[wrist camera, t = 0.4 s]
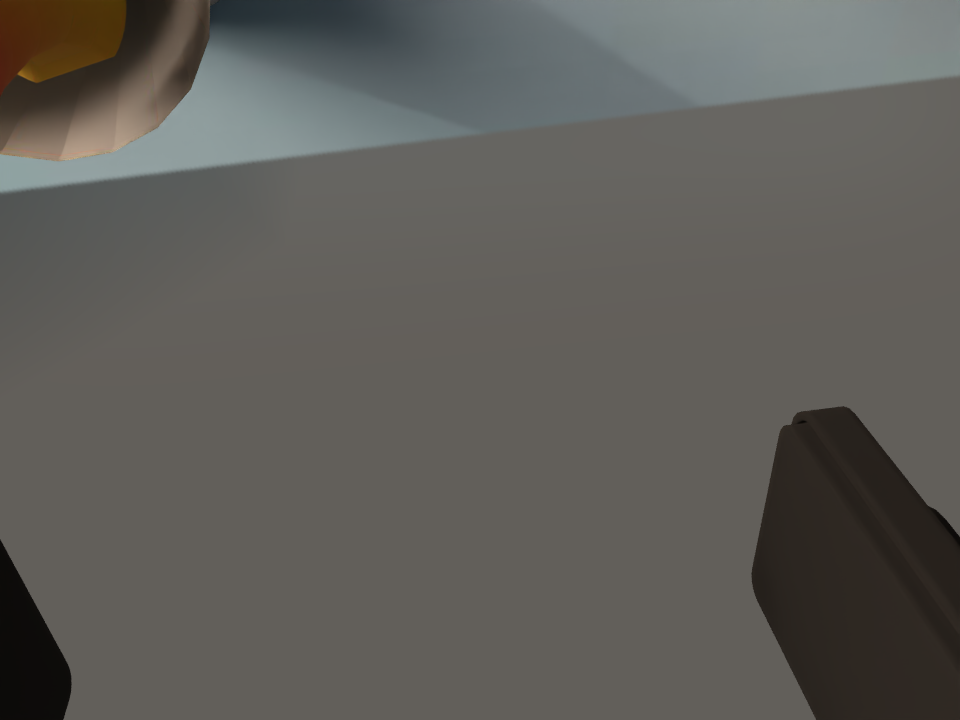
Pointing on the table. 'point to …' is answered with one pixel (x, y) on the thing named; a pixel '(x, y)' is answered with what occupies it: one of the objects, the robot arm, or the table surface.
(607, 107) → the table surface
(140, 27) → the lava lamp
